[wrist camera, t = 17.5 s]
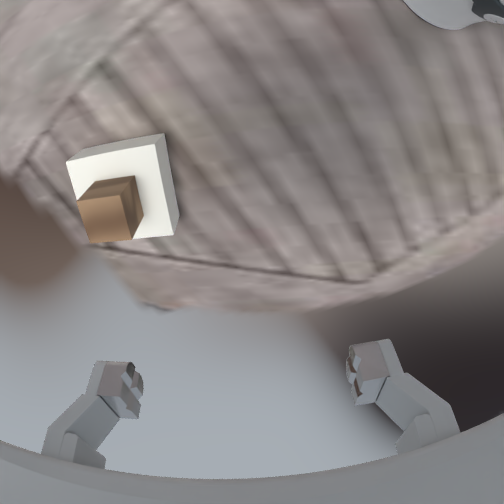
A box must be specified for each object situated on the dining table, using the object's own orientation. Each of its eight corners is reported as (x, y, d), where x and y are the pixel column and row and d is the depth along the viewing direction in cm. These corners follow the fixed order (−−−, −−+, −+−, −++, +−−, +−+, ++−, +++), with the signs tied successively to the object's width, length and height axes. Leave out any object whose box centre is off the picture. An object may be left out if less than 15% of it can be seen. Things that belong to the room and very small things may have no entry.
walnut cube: (94, 181, 32) (76, 201, 28) (134, 175, 32) (119, 195, 28) (105, 219, 35) (90, 243, 31) (144, 215, 35) (132, 239, 31)
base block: (83, 148, 34) (65, 161, 30) (165, 132, 34) (154, 144, 30) (104, 222, 41) (92, 243, 37) (180, 214, 41) (173, 234, 36)
